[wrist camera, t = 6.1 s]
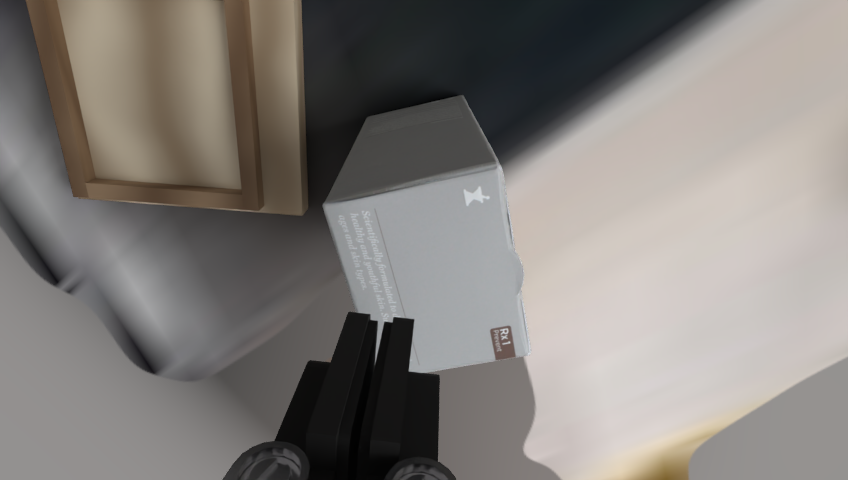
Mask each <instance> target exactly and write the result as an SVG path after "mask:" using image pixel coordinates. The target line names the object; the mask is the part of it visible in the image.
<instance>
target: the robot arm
mask: <svg viewBox="0 0 848 480" xmlns="http://www.w3.org/2000/svg"><path fill="white" fill-rule="evenodd" d="M370 319H371V316H370V314H365V313H356V312H348V315H347V317H346V320H345V323H344V326H343V329H342V332H341V334H340V337H339V340H338V343H337V346H336V349H335V352H334V354H333V357H332V360H331V363H330V362H321V361H311V360H310V361H309V362H308V363H307V365H306V367H305V369H304V372H303V374H302V377H301V379H300V381H299V384H298V386H297V389H296V391H295V393H294V396H293V398H292V401H291V403H290V405H289V408H288V410H287V412H286V415H285V417H284V419H283V422H282V425H281V427H280V429H279V431H278V434H277V436H276V439H275V441H272V442H264V443H262V444H259V445H256V446H254V447H252V448H250V449H249V450H247V451H246V452H244V453H242V454H241V456H240V457H239V458H238V459H237V460H236V461H235V462H234V464H233V465H232V466H231V468H230V469H229V471H228V472H227V474H226V475H225V477H224V478H223V480H456V478H455V476H454V475H453V474H452V473H451V471H450V470H449V469H448V468H446V467H445V466H444V465H442V464H441V463H440V462H438V428H439V383H440V381H439V380H440V378H439V375H436V374H427V373H418V372H409V364H410V356H411V347H412V338H413V329H414V320H415V319H409V318H400V317H393V322H384V326H383V330H382V335H381V339H380V344H379V349H378V353H377V358H376V363H375V356H376V343H377V330H378V321H375V320H370Z"/></svg>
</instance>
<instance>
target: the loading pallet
mask: <svg viewBox="0 0 848 480" xmlns="http://www.w3.org/2000/svg"><path fill="white" fill-rule="evenodd" d="M26 3H27V7H28V11H29V16H30V20H31V24H32V28H33V32H34V36H35V40H36V44H37V48H38V53H39V57H40V61H41V65H42V69H43V73H44V77H45V81H46V85H47V90H48V94H49V98H50V102H51V106H52V110H53V114H54V118H55V123H56V127H57V131H58V135H59V139H60V143H61V147H62V151H63V155H64V160H65V164H66V168H67V172H68V176H69V180H70V184H71V188H72V192H73V197H78V198H79V199H92V200H105V201H118V202H131V203H144V204H157V205H170V206H183V207H196V208H209V209H222V210H234V211H247V212H260V213H273V214H286V215H299V216H303V214H304V213H305V212H306V211H307V209H308V208H309V207H308V179H307V150H306V122H305V93H304V65H303V36H302V7H301V0H26Z"/></svg>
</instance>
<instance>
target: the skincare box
mask: <svg viewBox="0 0 848 480" xmlns="http://www.w3.org/2000/svg"><path fill="white" fill-rule="evenodd" d="M322 207H323V210H324V213H325V216H326V220H327V223H328V226H329V229H330V233H331V236H332V239H333V242H334V246H335V249H336V252H337V255H338V258H339V261H340V264H341V267H342V270H343V273H344V277H345V280H346V283H347V286H348V289H349V292H350V295H351V298H352V301H353V305H354V308H355V311H356V313H365V314H370V316H371V319H370V320H375V321H378V330H377V343H376V356H375V363H376V358H377V353H378V349H379V344H380V339H381V335H382V330H383V326H384V322H393V317H400V318H409V319H415V320H414V329H413V338H412V347H411V356H410V364H409V372H418V373H427V372H433V371H439V370H445V369H450V368H456V367H462V366H468V365H474V364H480V363H486V362H492V361H498V360H504V359H510V358H516V357H522V356H528V355H530V353H531V346H530V340H529V334H528V328H527V321H526V315H525V309H524V303H523V297H522V291H521V288H522V286H523V280H524V269H523V265H522V262H521V259H520V257H519V256H518V254H517V253H516V251H515V244H514V237H513V231H512V224H511V218H510V212H509V205H508V199H507V193H506V187H505V181H504V174H503V170H502V168H501V166H500V163H499V161H498V159H497V157H496V156H495V154H494V152H493V150H492V148H491V146H490V144H489V142H488V141H487V139H486V137H485V135H484V133H483V132H482V130H481V128H480V126H479V124H478V122H477V120H476V119H475V117H474V115H473V113H472V111H471V109H470V108H469V106H468V104H467V102H466V100H465V98H464V96H462V95H460V96H455V97H451V98H447V99H442V100H438V101H434V102H429V103H425V104H421V105H416V106H412V107H408V108H403V109H399V110H394V111H390V112H386V113H382V114H378V115H373V116H369V117H367V118H366V120H365V122H364V124H363V126H362V128H361V130H360V133H359V134H358V136H357V138H356V140H355V142H354V144H353V146H352V149H351V151H350V153H349V155H348V157H347V159H346V161H345V163H344V165H343V167H342V169H341V171H340V173H339V175H338V177H337V179H336V181H335V183H334V185H333V187H332V189H331V191H330V193H329V195H328V197H327V198H326V200H325V202H324V203H323V206H322Z"/></svg>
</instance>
